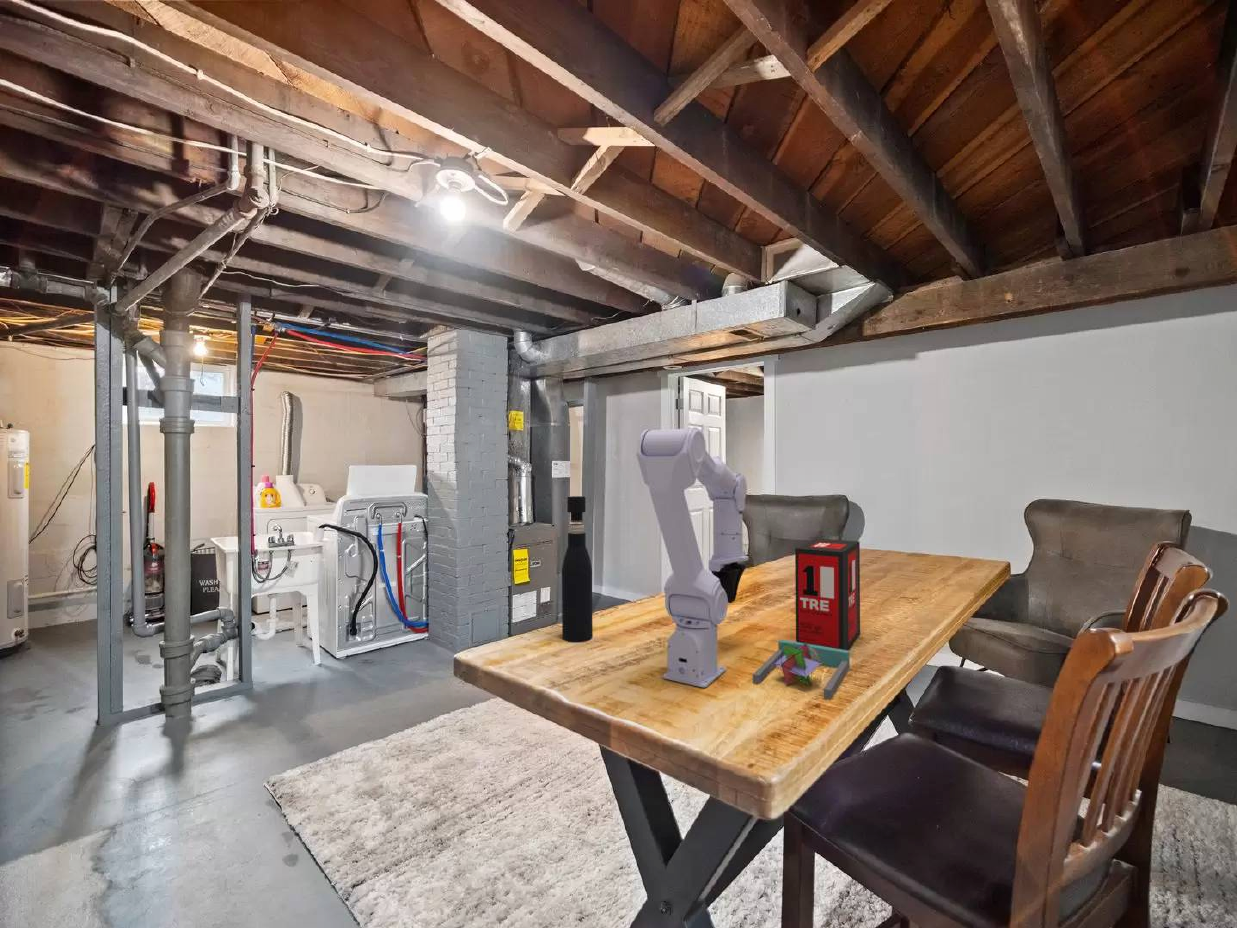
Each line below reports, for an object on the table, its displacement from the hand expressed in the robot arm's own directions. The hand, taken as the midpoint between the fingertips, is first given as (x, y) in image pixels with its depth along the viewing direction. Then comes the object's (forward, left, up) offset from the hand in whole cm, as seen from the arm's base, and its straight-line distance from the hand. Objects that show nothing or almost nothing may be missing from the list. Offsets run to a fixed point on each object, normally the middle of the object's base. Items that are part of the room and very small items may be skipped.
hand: (728, 601), depth 109 cm
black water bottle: (-10, +30, -10) cm, 33 cm away
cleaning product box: (+15, -16, -10) cm, 24 cm away
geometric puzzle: (-10, -16, -10) cm, 21 cm away
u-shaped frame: (-6, -16, -9) cm, 20 cm away
